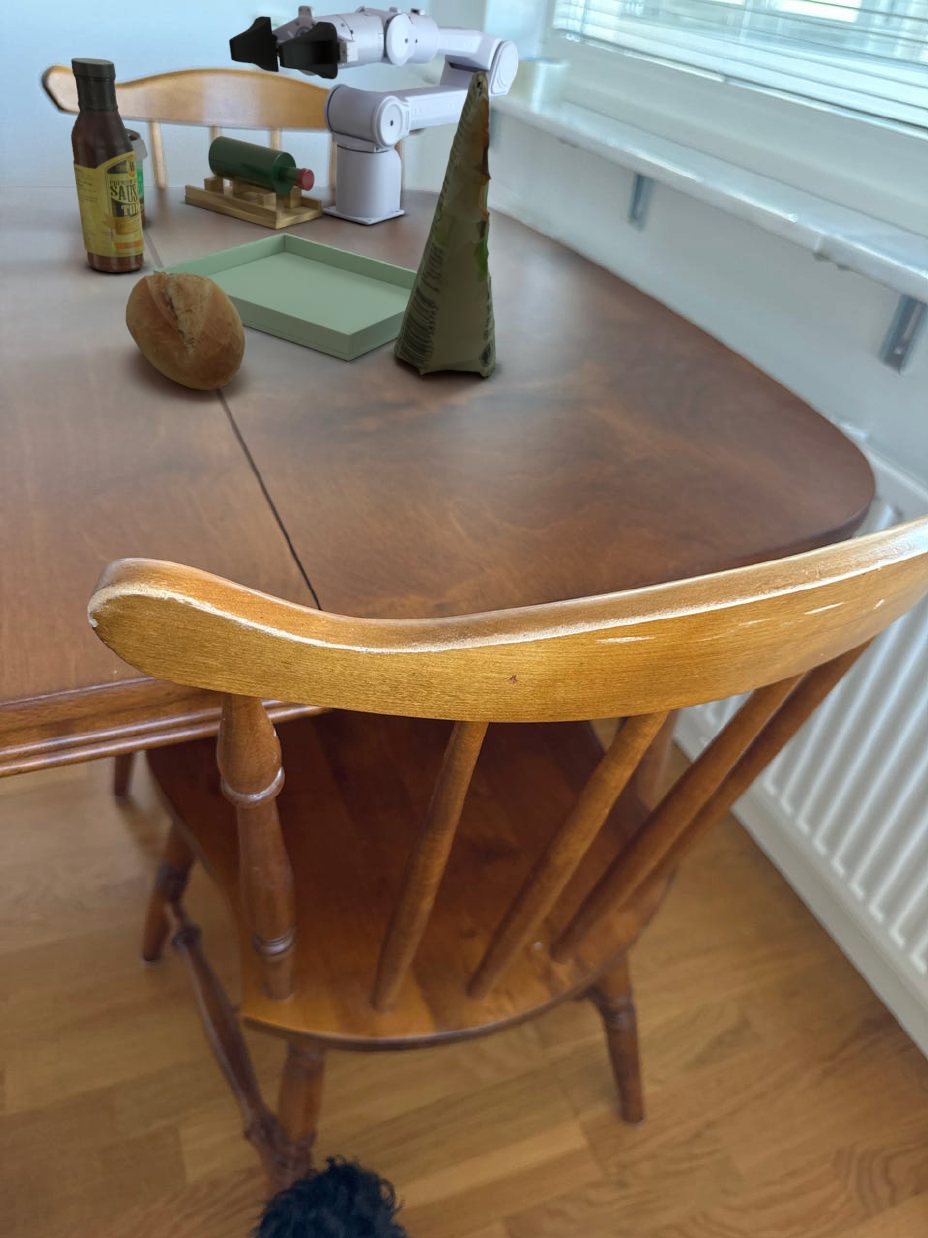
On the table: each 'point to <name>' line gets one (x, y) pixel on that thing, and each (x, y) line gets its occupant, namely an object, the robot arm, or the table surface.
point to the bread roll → (186, 329)
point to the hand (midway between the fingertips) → (256, 52)
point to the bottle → (257, 166)
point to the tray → (309, 292)
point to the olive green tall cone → (456, 259)
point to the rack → (254, 203)
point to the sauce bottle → (105, 172)
